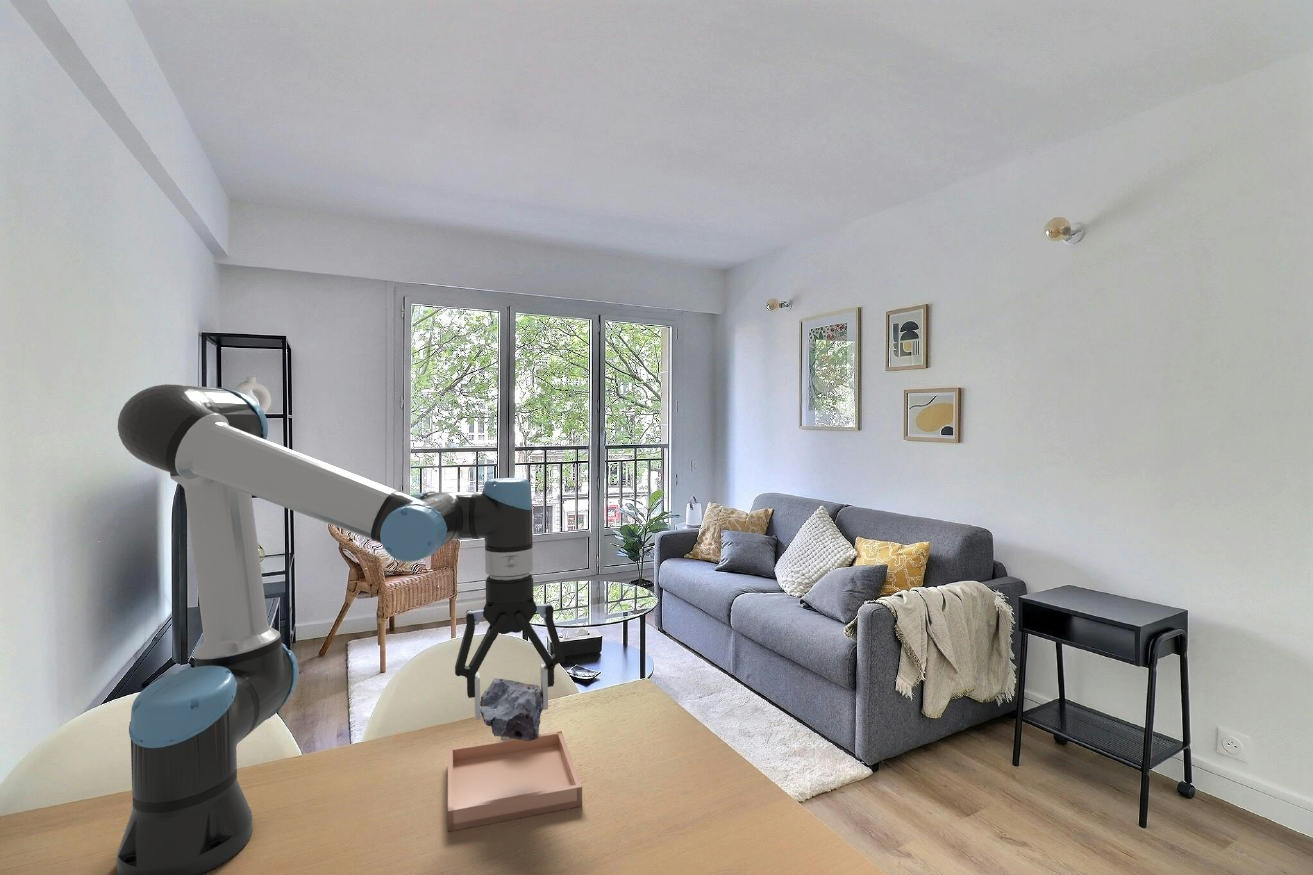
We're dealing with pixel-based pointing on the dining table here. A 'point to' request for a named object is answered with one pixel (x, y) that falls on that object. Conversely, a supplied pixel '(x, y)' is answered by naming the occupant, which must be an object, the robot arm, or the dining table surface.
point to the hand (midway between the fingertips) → (511, 710)
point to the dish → (510, 780)
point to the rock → (512, 709)
